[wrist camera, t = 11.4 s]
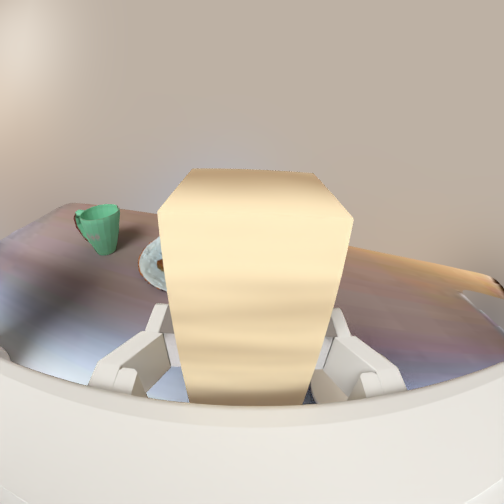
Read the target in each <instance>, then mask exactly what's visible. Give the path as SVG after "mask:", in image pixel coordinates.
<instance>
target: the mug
mask: <svg viewBox="0 0 504 504" xmlns="http://www.w3.org/2000/svg"><path fill="white" fill-rule="evenodd" d="M119 218H120V210H119V208H118V206H117V205H113V204H104V205H98V206H94V207H91V208H89V209H87V210H78V211H76V213H75V215H74V221H75V224H76V228H77V229H78V231H79V232H80V233H81V235H82V236H83V237H84V239H85V240H87V241H88V242H89V243H91V244H92V246H93V247H94V249H95V250H96V252H97V253H98V254H99V255H109V254H111V253H113V252H114V251H115V250H116V245H117V241H118V233H119Z"/></svg>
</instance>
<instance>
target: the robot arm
mask: <svg viewBox="0 0 504 504" xmlns="http://www.w3.org/2000/svg"><path fill="white" fill-rule="evenodd" d="M170 366H175V367H181V364H180V359H179V354H178V349H177V344H176V339H175V334H174V329H173V324H172V318H171V312H170V306H169V304H160V303H157V304H156V305H155V306H154V309H153V311H152V314H151V316H150V319H149V322H148V324H147V327H146V330H145V332H144V331H141V332H140V333H138V334H137V335H135V336H134V337H132V338H131V339H130V340H128V341H127V342H125V343H124V344H122V345H121V346H120V347H118V348H117V349H115V350H114V351H112V352H111V353H110V354H108V355H107V356H105V357H104V358H102V359H101V360H100V361H98V362H97V365H96V367H95V369H94V372H93V374H92V376H91V379H90V381H89V383H88V386H86V385H82V384H78V383H75V382H71V381H67V380H64V379H60V378H57V377H54V376H51V375H47V374H44V373H41V372H38V371H35V370H32V369H30V368H27V367H24V366H21V365H19V364H16V363H14V362H11V360H10V357H9V355H8V353H7V352H6V351H5V350H4V349H3V348H2V347H1V346H0V504H504V361H503V362H501V363H498V364H496V365H493V366H491V367H488V368H485V369H483V370H480V371H477V372H474V373H471V374H468V375H465V376H461V377H458V378H455V379H452V380H448V381H445V382H441V383H437V384H433V385H429V386H425V387H421V388H417V389H413V390H408V391H407V389H406V386H405V384H404V381H403V379H402V377H401V374H400V372H399V370H398V368H397V367H396V366H395V365H393V364H392V363H391V362H389V361H388V360H387V359H385V358H384V357H382V356H381V355H380V354H378V353H377V352H376V351H374V350H373V349H372V348H370V347H369V346H368V345H366V344H365V343H364V342H362V341H361V340H359V339H358V338H357V337H355V336H351V334H350V331H349V328H348V326H347V323H346V321H345V318H344V316H343V313H342V311H341V309H340V308H333V310H332V314H331V317H330V321H329V324H328V328H327V331H326V335H325V338H324V341H323V345H322V348H321V351H320V354H319V357H318V360H317V363H316V367H315V369H323V371H324V372H325V373H326V374H327V375H328V376H329V377H330V378H331V379H332V381H333V382H334V383H335V384H336V385H337V386H338V387H339V388H340V389H341V390H342V391H343V392H344V394H345V395H346V396H347V397H348V399H347V401H341V402H332V403H321V404H308V405H290V406H226V405H208V404H195V403H185V402H175V401H167V400H159V399H152V398H148V397H147V394H146V393H147V391H148V390H149V389H150V388H151V387H152V386H153V385H154V384H155V383H156V382H157V381H158V380H159V379H160V378H161V377H162V376H163V375H164V374H165V373H166V372H167V371H168V370H169V369H170V368H171V367H170Z"/></svg>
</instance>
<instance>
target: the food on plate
mask: <svg viewBox="0 0 504 504" xmlns="http://www.w3.org/2000/svg"><path fill="white" fill-rule="evenodd" d="M138 267H139V272H140V274H141V275H142V276H143V277H144V278H145V280H146V281H148V283H150V284H152V285H154V286H155V287H156V288H157V289H162V290H164V291H166V292H167V287H166V281H165V274H164V266H163V259H162V251H161V242H160V237H158V238H157V239H155V240H154V241H152V242H151V243H149V244H148V246H146V247H145V248H144V249H143V251H142V253H141V255H140V256H139V261H138Z"/></svg>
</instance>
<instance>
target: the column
mask: <svg viewBox="0 0 504 504" xmlns="http://www.w3.org/2000/svg"><path fill="white" fill-rule="evenodd" d="M353 220H354V218H353V217H352V216H351V215H350V214H349V213H348V211H347V210H346V209H345V208H344V207H343V206H342V205H341V204H340V202H339V201H338V200H337V199H336V198H335V197H334V195H333V194H332V193H331V192H330V191H329V190H328V189H327V188H326V187H325V185H324V184H322V182H321V181H320V180H319V179H318V178H317V177H316V176H315V175H314V174H313V173H302V172H288V171H271V170H248V169H247V170H246V169H192V170H191V171H190V172H189V173H188V175H187V176H186V177H185V178H184V179H183V181H182V182H181V183H180V184H179V185H178V187H177V188H176V189H175V190H174V192H173V193H172V194H171V195H170V196H169V198H168V199H167V200H166V201H165V203H164V204H163V205H162V206H161V208H160V209H159V210H158V223H159V233H160V242H161V251H162V259H163V266H164V274H165V281H166V287H167V294H168V300H169V306H170V312H171V318H172V324H173V329H174V334H175V339H176V344H177V349H178V354H179V359H180V364H181V368H182V373H183V377H184V381H185V385H186V390H187V394H188V398H189V402H190V403H195V404H208V405H226V406H290V405H302V404H303V401H304V398H305V395H306V393H307V390H308V387H309V384H310V381H311V378H312V375H313V373H314V370H315V367H316V363H317V360H318V357H319V354H320V351H321V348H322V345H323V341H324V338H325V335H326V331H327V328H328V324H329V321H330V317H331V314H332V310H333V306H334V303H335V299H336V295H337V291H338V287H339V283H340V279H341V275H342V271H343V267H344V263H345V258H346V254H347V249H348V245H349V240H350V235H351V230H352V225H353Z"/></svg>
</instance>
